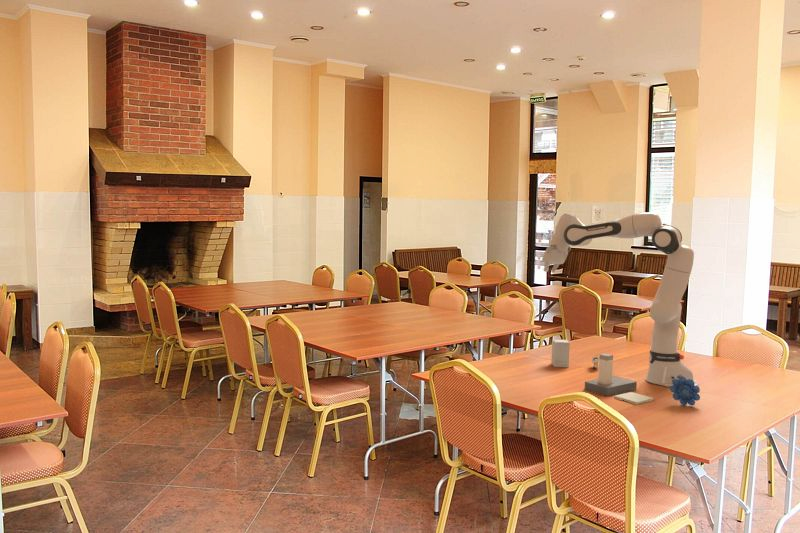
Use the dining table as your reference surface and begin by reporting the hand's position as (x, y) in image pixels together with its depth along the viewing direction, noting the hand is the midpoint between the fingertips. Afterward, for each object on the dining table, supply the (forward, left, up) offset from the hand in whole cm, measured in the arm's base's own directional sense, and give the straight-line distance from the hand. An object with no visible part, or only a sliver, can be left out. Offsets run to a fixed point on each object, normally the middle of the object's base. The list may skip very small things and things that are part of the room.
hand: (549, 271), depth 337 cm
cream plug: (-20, +44, -47) cm, 67 cm away
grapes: (-48, +62, -48) cm, 92 cm away
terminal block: (-23, +41, -47) cm, 67 cm away
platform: (-24, +3, -48) cm, 54 cm away
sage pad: (-30, +55, -47) cm, 79 cm away
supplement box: (-7, 0, -48) cm, 48 cm away
